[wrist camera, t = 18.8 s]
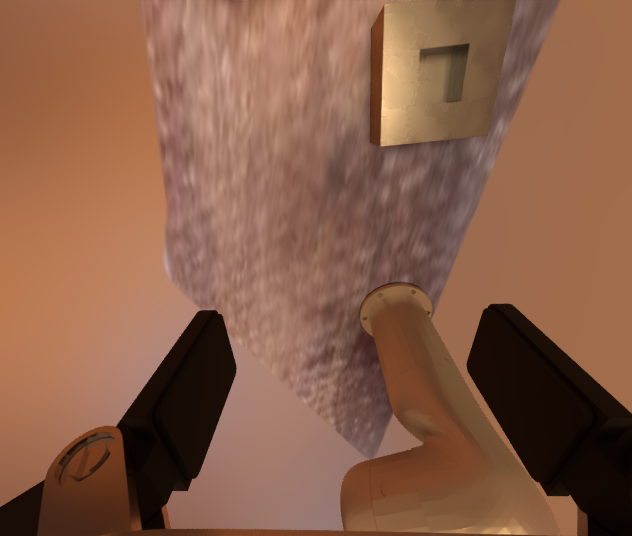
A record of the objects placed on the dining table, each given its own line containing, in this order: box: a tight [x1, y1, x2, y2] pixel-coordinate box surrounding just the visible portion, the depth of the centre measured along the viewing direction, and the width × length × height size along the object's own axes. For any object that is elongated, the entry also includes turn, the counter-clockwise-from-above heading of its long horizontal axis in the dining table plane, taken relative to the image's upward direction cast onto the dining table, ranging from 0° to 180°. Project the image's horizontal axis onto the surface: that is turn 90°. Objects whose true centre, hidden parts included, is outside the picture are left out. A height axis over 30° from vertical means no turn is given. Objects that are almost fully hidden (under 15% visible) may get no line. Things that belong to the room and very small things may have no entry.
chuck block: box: [370, 0, 516, 146], centre depth 27 cm, size 11×11×6 cm
